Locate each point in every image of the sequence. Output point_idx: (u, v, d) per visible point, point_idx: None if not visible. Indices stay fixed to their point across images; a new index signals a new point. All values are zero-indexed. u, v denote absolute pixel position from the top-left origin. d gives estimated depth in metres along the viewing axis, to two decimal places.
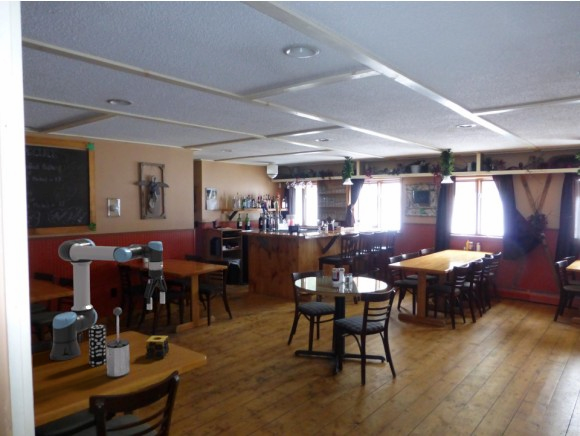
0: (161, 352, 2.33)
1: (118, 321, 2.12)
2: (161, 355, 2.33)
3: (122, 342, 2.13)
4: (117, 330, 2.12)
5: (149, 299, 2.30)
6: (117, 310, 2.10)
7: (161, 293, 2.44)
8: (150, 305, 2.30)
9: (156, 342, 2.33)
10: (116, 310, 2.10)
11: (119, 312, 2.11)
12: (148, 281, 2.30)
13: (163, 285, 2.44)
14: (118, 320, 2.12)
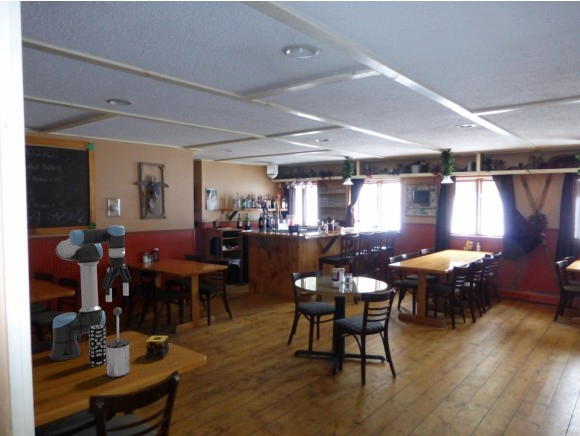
0: (161, 352, 2.33)
1: (118, 321, 2.12)
2: (161, 355, 2.33)
3: (122, 342, 2.13)
4: (117, 330, 2.12)
5: (108, 290, 2.04)
6: (117, 310, 2.10)
7: (124, 284, 2.18)
8: (109, 297, 2.04)
9: (156, 342, 2.33)
10: (116, 310, 2.10)
11: (119, 312, 2.11)
12: (107, 270, 2.04)
13: (126, 275, 2.18)
14: (118, 320, 2.12)
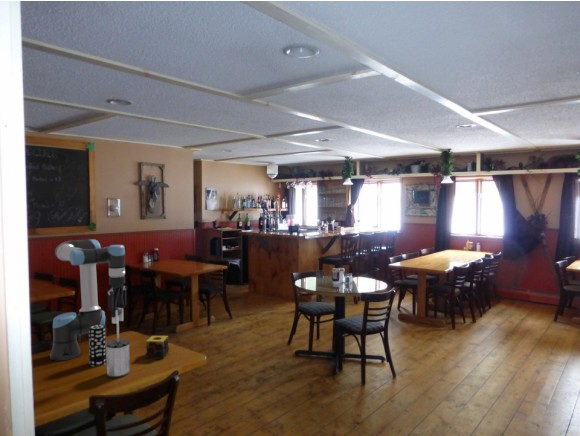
0: (161, 352, 2.33)
1: (118, 321, 2.12)
2: (161, 355, 2.33)
3: (122, 342, 2.13)
4: (117, 330, 2.12)
5: (114, 312, 2.09)
6: (117, 310, 2.10)
7: None
8: (115, 319, 2.09)
9: (156, 342, 2.33)
10: None
11: (119, 312, 2.11)
12: (108, 293, 2.05)
13: (123, 298, 2.16)
14: (118, 320, 2.12)
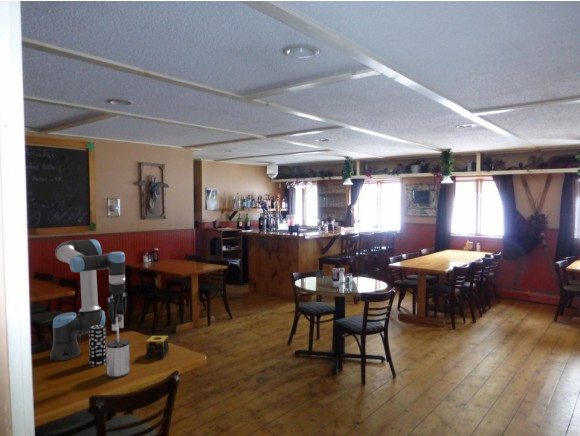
0: (161, 352, 2.33)
1: (118, 328, 2.12)
2: (161, 355, 2.33)
3: (122, 342, 2.13)
4: (117, 337, 2.12)
5: (114, 319, 2.09)
6: None
7: None
8: (115, 325, 2.10)
9: (156, 342, 2.33)
10: None
11: (119, 319, 2.11)
12: (108, 300, 2.06)
13: (123, 305, 2.16)
14: (118, 327, 2.12)
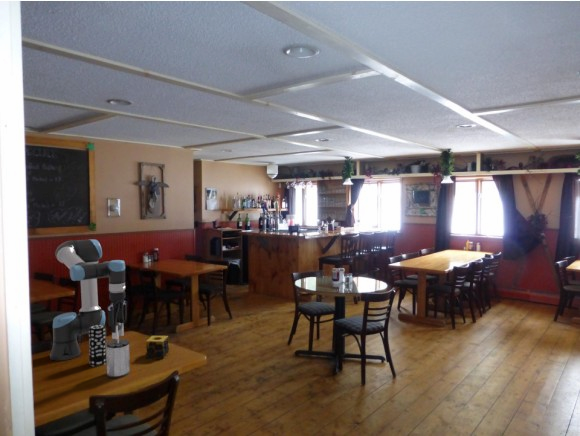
0: (161, 352, 2.33)
1: (118, 336, 2.12)
2: (161, 355, 2.33)
3: (122, 342, 2.13)
4: None
5: (114, 327, 2.09)
6: (117, 325, 2.11)
7: None
8: (115, 334, 2.10)
9: (156, 342, 2.33)
10: (116, 325, 2.11)
11: (119, 327, 2.11)
12: (108, 309, 2.06)
13: (123, 313, 2.17)
14: (118, 335, 2.12)
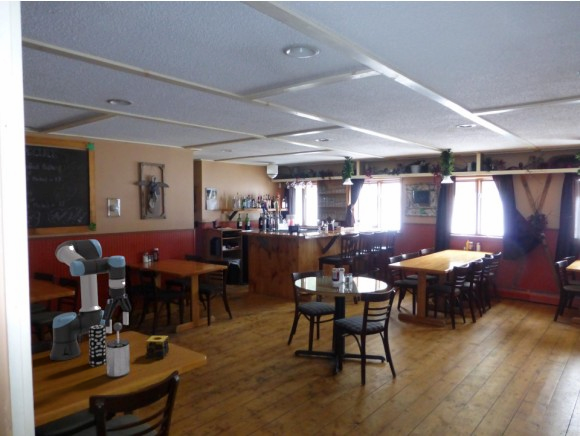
0: (161, 352, 2.33)
1: (118, 336, 2.12)
2: (161, 355, 2.33)
3: (122, 342, 2.13)
4: None
5: (108, 321, 2.05)
6: (117, 325, 2.11)
7: (124, 313, 2.19)
8: (109, 328, 2.05)
9: (156, 342, 2.33)
10: (116, 325, 2.11)
11: (119, 327, 2.11)
12: (107, 301, 2.05)
13: (126, 304, 2.19)
14: (118, 335, 2.12)
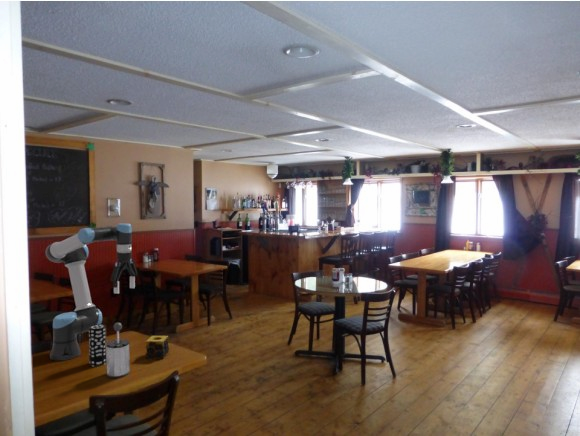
0: (161, 352, 2.33)
1: (118, 336, 2.12)
2: (161, 355, 2.33)
3: (122, 342, 2.13)
4: None
5: (116, 282, 2.22)
6: (117, 325, 2.11)
7: (131, 277, 2.36)
8: (117, 289, 2.23)
9: (156, 342, 2.33)
10: (116, 325, 2.11)
11: (119, 327, 2.11)
12: (115, 264, 2.23)
13: (133, 269, 2.37)
14: (118, 335, 2.12)
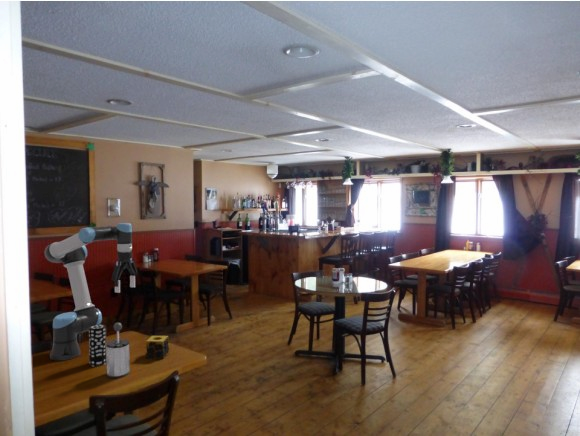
0: (161, 352, 2.33)
1: (118, 336, 2.12)
2: (161, 355, 2.33)
3: (122, 342, 2.13)
4: None
5: (117, 282, 2.23)
6: (117, 325, 2.11)
7: (131, 276, 2.37)
8: (118, 288, 2.24)
9: (156, 342, 2.33)
10: (116, 325, 2.11)
11: (119, 327, 2.11)
12: (116, 263, 2.24)
13: (133, 268, 2.38)
14: (118, 335, 2.12)
